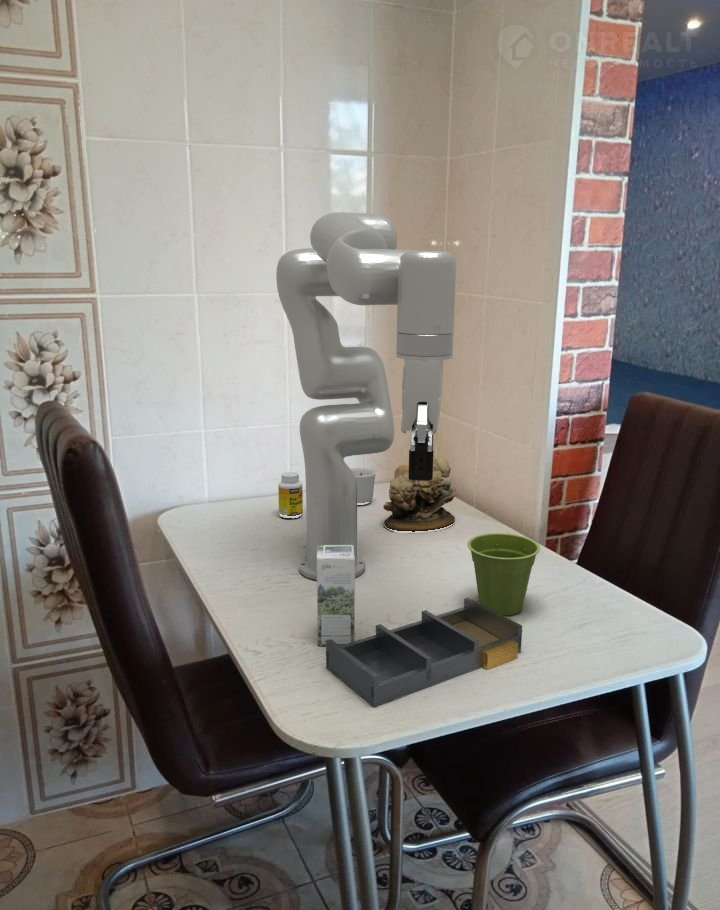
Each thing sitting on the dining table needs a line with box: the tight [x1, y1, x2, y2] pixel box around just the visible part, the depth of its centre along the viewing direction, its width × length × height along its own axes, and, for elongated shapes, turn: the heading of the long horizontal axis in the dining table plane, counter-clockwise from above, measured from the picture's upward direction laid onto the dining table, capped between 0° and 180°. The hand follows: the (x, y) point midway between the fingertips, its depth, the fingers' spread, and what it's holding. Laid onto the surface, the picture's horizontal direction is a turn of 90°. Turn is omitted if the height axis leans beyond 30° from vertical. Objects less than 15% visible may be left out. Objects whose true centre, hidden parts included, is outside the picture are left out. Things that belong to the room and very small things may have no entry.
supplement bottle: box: [277, 471, 304, 516], centre depth 173 cm, size 6×6×10 cm
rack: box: [325, 597, 523, 708], centre depth 108 cm, size 13×27×4 cm, turn 124°
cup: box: [350, 467, 376, 503], centre depth 184 cm, size 11×8×8 cm
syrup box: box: [316, 545, 356, 647], centre depth 114 cm, size 6×6×14 cm
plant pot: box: [467, 532, 541, 617], centre depth 125 cm, size 12×12×11 cm
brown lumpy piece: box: [383, 455, 458, 532], centre depth 167 cm, size 18×12×17 cm, turn 117°
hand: (420, 469), depth 104 cm, fingers open, 9 cm apart
